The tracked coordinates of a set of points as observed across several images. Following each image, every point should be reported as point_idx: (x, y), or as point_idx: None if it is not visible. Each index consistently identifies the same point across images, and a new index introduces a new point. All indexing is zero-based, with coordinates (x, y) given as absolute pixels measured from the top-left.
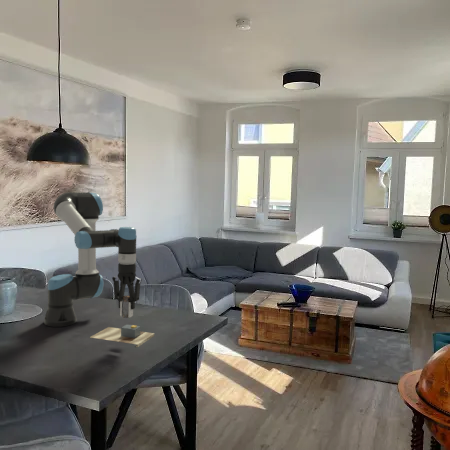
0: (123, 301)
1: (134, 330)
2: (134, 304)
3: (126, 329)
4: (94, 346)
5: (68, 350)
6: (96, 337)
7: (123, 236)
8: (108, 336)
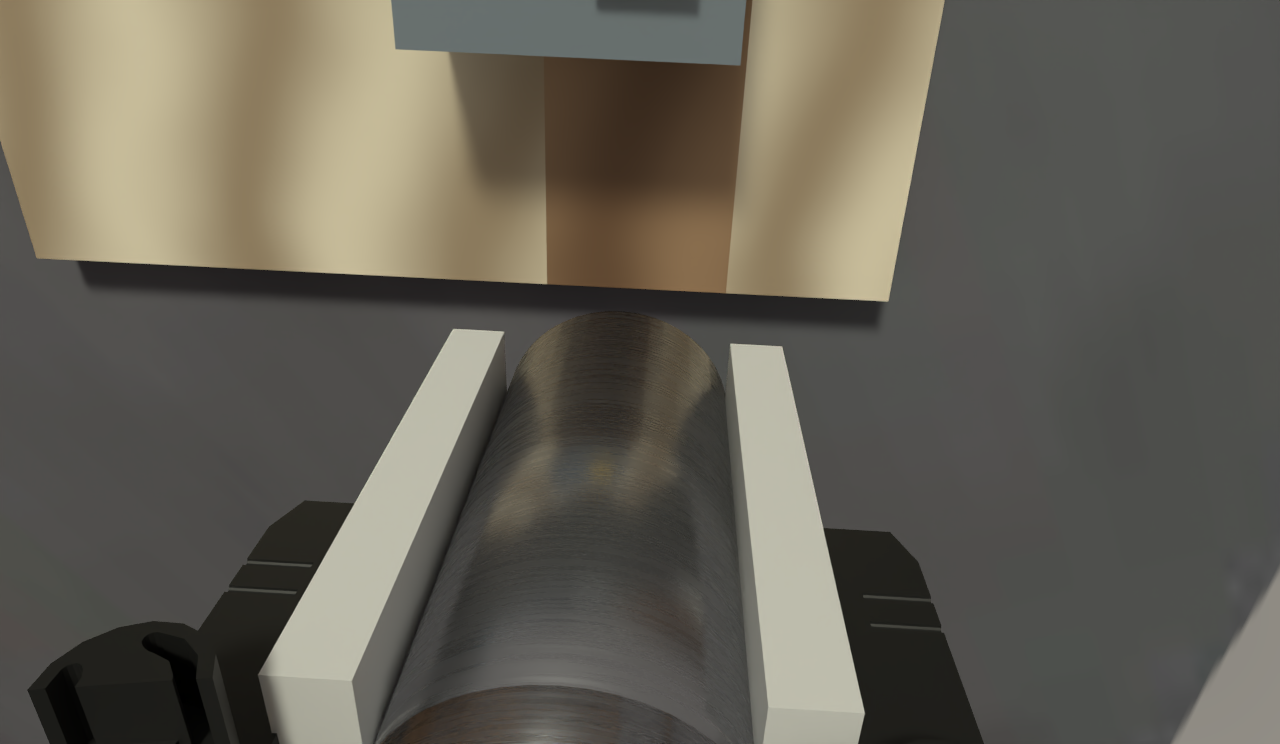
0: None
1: (726, 63)
2: (951, 695)
3: (534, 54)
4: (306, 415)
5: (147, 591)
6: (132, 229)
7: None
8: (260, 119)
